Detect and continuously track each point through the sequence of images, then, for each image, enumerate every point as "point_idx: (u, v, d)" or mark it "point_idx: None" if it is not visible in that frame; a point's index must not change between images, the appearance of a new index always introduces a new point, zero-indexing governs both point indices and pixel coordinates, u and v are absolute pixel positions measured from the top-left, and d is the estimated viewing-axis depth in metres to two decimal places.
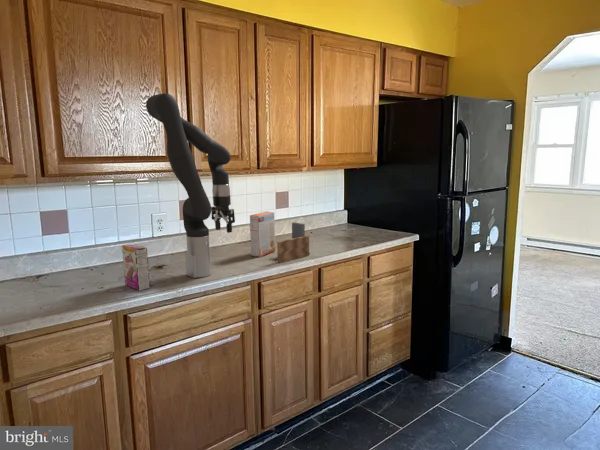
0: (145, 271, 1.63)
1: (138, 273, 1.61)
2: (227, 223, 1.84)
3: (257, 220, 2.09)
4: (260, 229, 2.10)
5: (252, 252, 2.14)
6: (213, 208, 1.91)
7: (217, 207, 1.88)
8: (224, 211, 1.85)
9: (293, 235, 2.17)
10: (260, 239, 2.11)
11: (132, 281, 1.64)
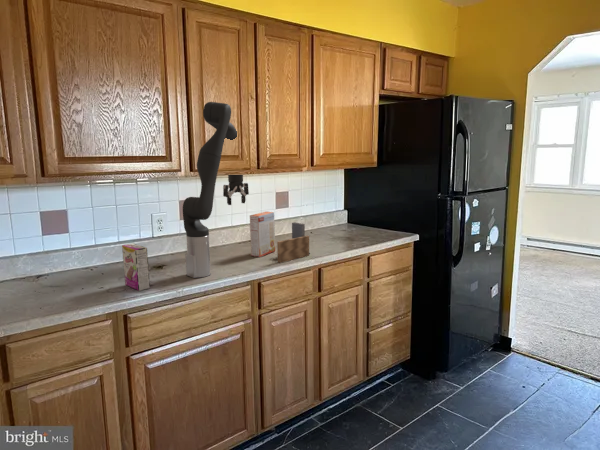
0: (145, 271, 1.63)
1: (138, 273, 1.61)
2: (245, 195, 2.23)
3: (257, 220, 2.09)
4: (260, 229, 2.10)
5: (252, 252, 2.14)
6: (227, 186, 2.15)
7: (233, 184, 2.17)
8: (242, 185, 2.21)
9: (293, 235, 2.17)
10: (260, 239, 2.11)
11: (132, 281, 1.64)
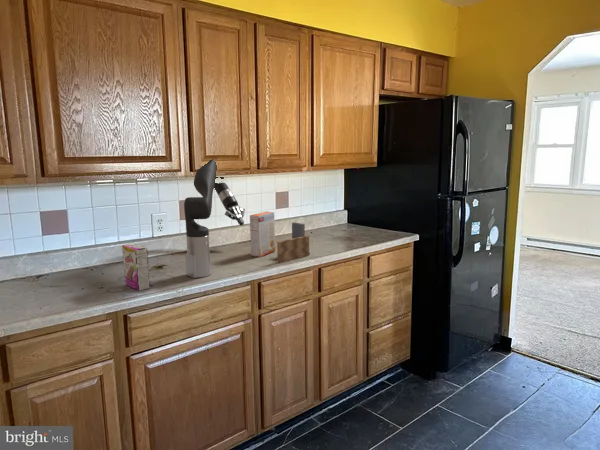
0: (145, 271, 1.63)
1: (138, 273, 1.61)
2: (241, 216, 2.30)
3: (257, 220, 2.09)
4: (260, 229, 2.10)
5: (252, 252, 2.14)
6: None
7: (230, 206, 2.31)
8: (239, 209, 2.33)
9: (293, 235, 2.17)
10: (260, 239, 2.11)
11: (132, 281, 1.64)
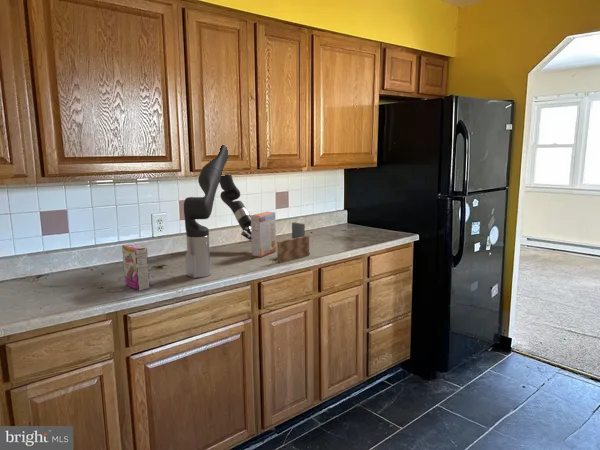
0: (145, 271, 1.63)
1: (138, 273, 1.61)
2: None
3: (258, 220, 2.09)
4: (261, 229, 2.10)
5: (253, 252, 2.13)
6: None
7: (246, 226, 2.22)
8: None
9: (293, 235, 2.17)
10: (261, 239, 2.11)
11: (132, 281, 1.64)
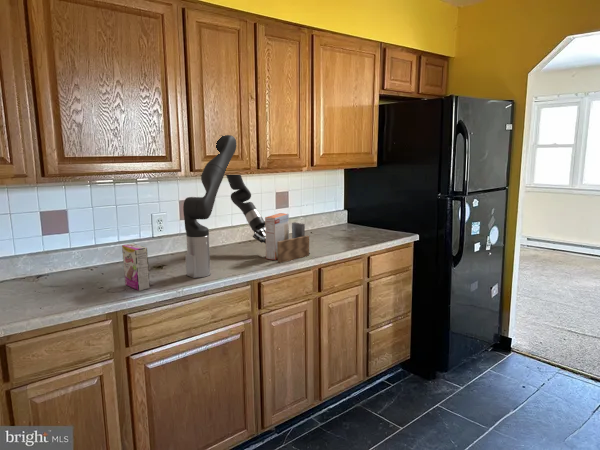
0: (145, 271, 1.63)
1: (138, 273, 1.61)
2: None
3: (273, 222, 2.03)
4: (276, 231, 2.04)
5: (267, 255, 2.08)
6: None
7: (258, 228, 2.16)
8: None
9: (293, 235, 2.17)
10: (276, 241, 2.05)
11: (132, 281, 1.64)
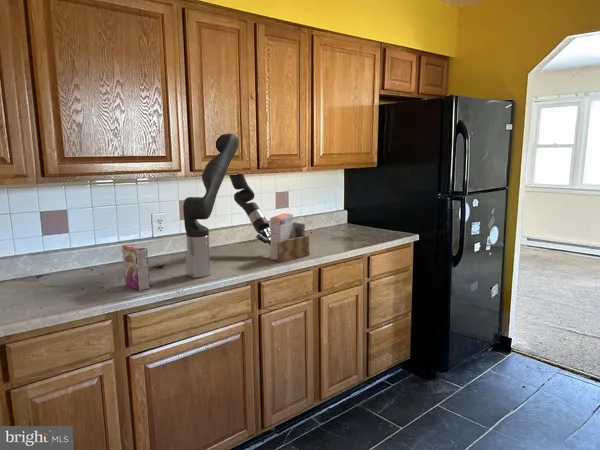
0: (145, 271, 1.63)
1: (138, 273, 1.61)
2: None
3: (279, 222, 2.01)
4: (281, 232, 2.03)
5: (272, 256, 2.06)
6: None
7: (261, 229, 2.14)
8: None
9: (293, 235, 2.17)
10: None
11: (132, 281, 1.64)
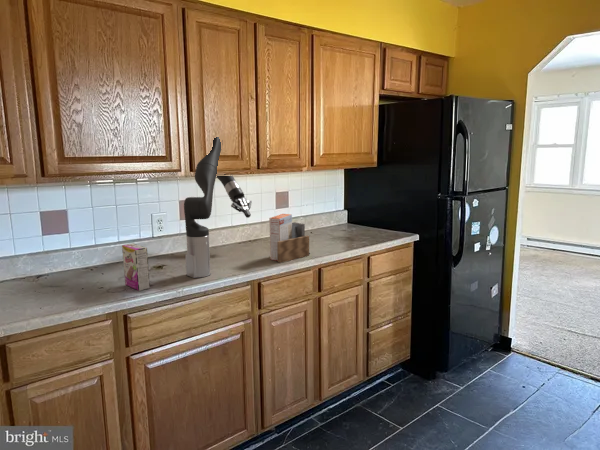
0: (145, 271, 1.63)
1: (138, 273, 1.61)
2: (247, 208, 2.24)
3: (278, 222, 2.01)
4: (281, 232, 2.03)
5: (272, 256, 2.06)
6: None
7: (236, 198, 2.25)
8: (246, 201, 2.27)
9: (293, 235, 2.17)
10: None
11: (132, 281, 1.64)
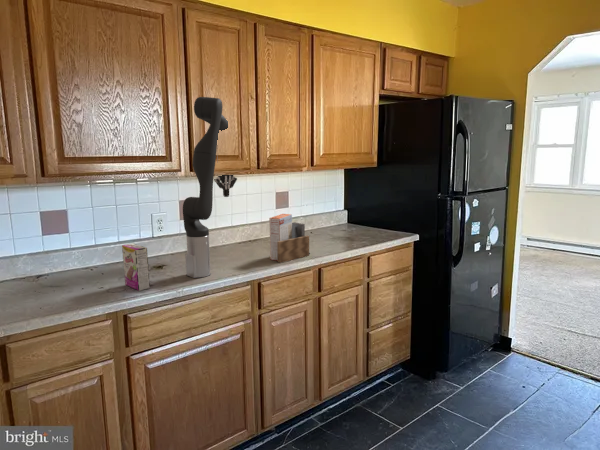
0: (145, 271, 1.63)
1: (138, 273, 1.61)
2: (229, 188, 2.16)
3: (278, 222, 2.01)
4: (281, 232, 2.03)
5: (272, 256, 2.06)
6: (218, 179, 2.11)
7: None
8: (231, 178, 2.16)
9: (293, 235, 2.17)
10: None
11: (132, 281, 1.64)
